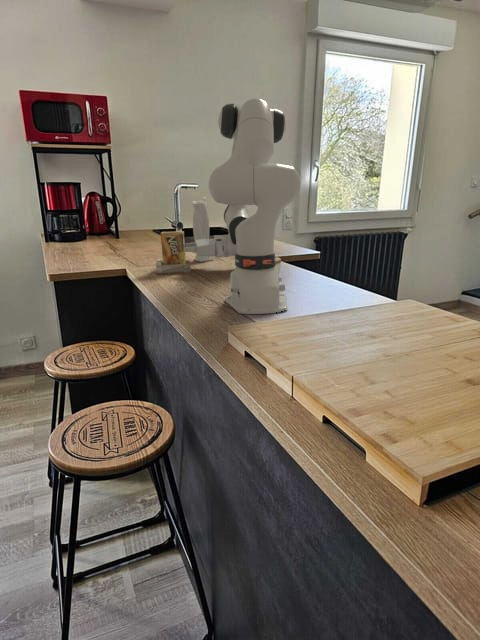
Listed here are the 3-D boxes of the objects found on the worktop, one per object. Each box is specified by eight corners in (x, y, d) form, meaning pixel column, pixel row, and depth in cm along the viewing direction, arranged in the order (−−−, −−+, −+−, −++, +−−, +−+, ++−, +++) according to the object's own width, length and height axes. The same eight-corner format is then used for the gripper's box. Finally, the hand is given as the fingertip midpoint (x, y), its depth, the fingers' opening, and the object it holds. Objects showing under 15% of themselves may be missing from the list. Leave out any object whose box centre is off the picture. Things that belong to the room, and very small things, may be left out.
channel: (190, 273, 168) (189, 262, 167) (156, 274, 167) (155, 263, 165) (190, 268, 178) (189, 257, 176) (158, 269, 176) (157, 258, 175)
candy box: (186, 268, 174) (184, 231, 169) (185, 270, 170) (183, 232, 165) (164, 269, 174) (161, 231, 169) (163, 271, 170) (160, 232, 165)
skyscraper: (215, 261, 192) (213, 197, 183) (200, 263, 188) (196, 197, 179) (206, 258, 199) (203, 196, 190) (191, 260, 194) (187, 197, 186)
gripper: (216, 235, 180) (183, 236, 178) (220, 241, 161) (184, 243, 159) (217, 250, 182) (184, 251, 180) (221, 258, 163) (185, 259, 161)
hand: (184, 247), depth 169 cm, fingers open, 8 cm apart
